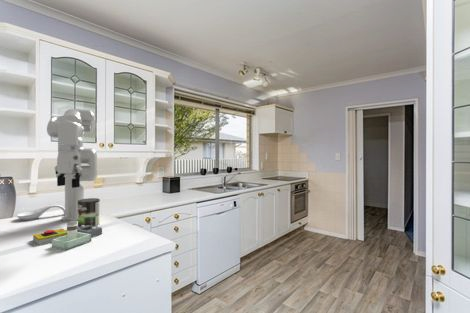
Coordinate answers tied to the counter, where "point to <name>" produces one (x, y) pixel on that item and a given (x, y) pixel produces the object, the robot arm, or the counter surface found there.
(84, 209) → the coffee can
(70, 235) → the fuse
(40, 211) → the spoon rest
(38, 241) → the emergency button
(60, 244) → the tray
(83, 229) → the block
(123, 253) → the counter surface
